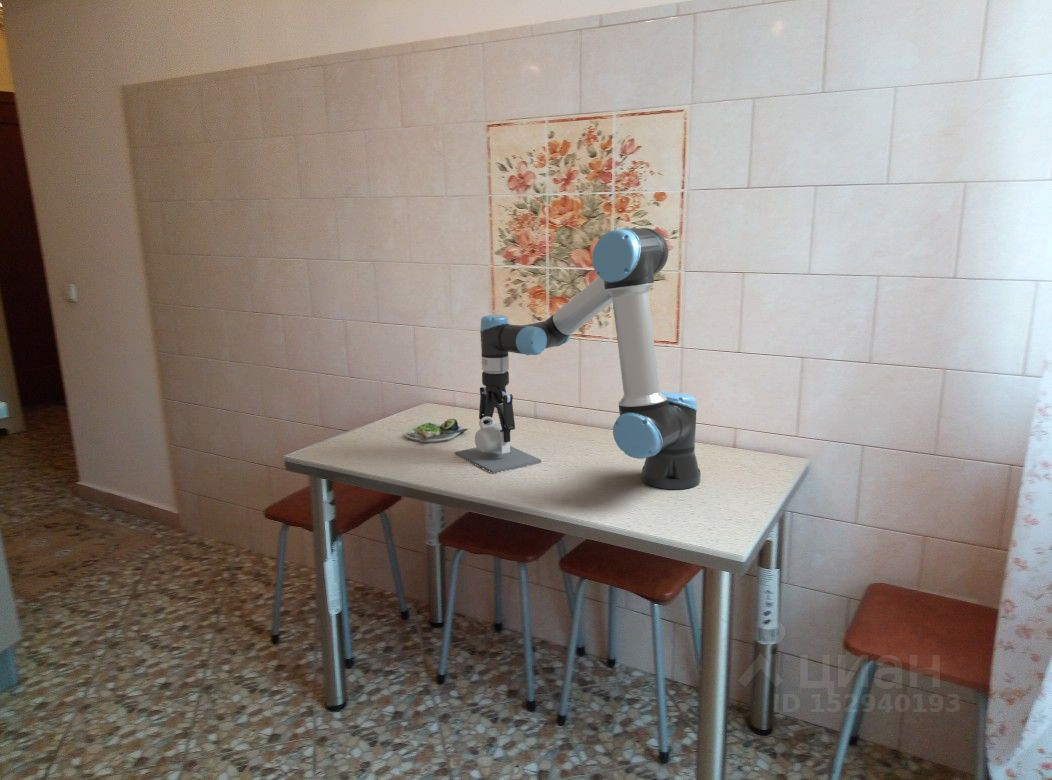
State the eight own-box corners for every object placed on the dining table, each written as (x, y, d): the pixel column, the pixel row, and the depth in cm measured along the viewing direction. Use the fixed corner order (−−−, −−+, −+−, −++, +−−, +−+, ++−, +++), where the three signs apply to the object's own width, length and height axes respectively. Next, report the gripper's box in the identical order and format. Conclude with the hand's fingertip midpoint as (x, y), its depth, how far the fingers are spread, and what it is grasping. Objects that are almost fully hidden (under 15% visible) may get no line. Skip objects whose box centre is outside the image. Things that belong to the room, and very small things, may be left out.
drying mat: (541, 462, 206) (541, 459, 206) (493, 474, 197) (493, 471, 197) (501, 444, 223) (501, 442, 223) (455, 454, 214) (455, 451, 214)
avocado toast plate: (443, 449, 220) (443, 434, 219) (393, 443, 227) (392, 429, 226) (472, 432, 238) (472, 418, 237) (424, 427, 245) (424, 413, 244)
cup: (476, 413, 204) (500, 409, 209) (465, 425, 210) (489, 421, 215) (489, 449, 201) (513, 443, 206) (478, 459, 207) (501, 454, 212)
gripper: (465, 366, 211) (467, 442, 216) (504, 378, 194) (506, 460, 199) (487, 363, 215) (489, 437, 220) (527, 375, 198) (528, 455, 203)
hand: (497, 448), depth 209 cm, fingers closed on cup, 8 cm apart
